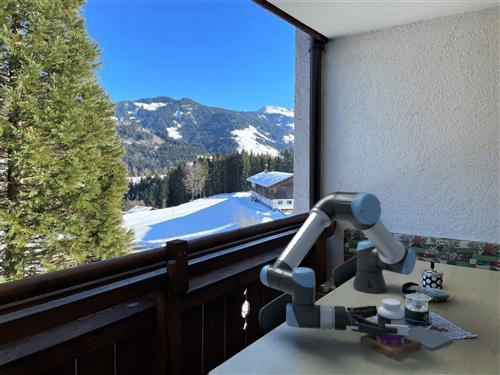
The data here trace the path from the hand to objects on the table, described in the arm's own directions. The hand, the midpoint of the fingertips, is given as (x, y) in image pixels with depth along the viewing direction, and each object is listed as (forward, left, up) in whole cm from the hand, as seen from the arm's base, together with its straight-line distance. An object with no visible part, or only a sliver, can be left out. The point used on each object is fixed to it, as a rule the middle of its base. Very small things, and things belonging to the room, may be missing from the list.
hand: (402, 321), depth 114 cm
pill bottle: (-2, -3, -8) cm, 9 cm away
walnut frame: (-2, -3, -8) cm, 9 cm away
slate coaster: (+1, +11, -8) cm, 14 cm away
